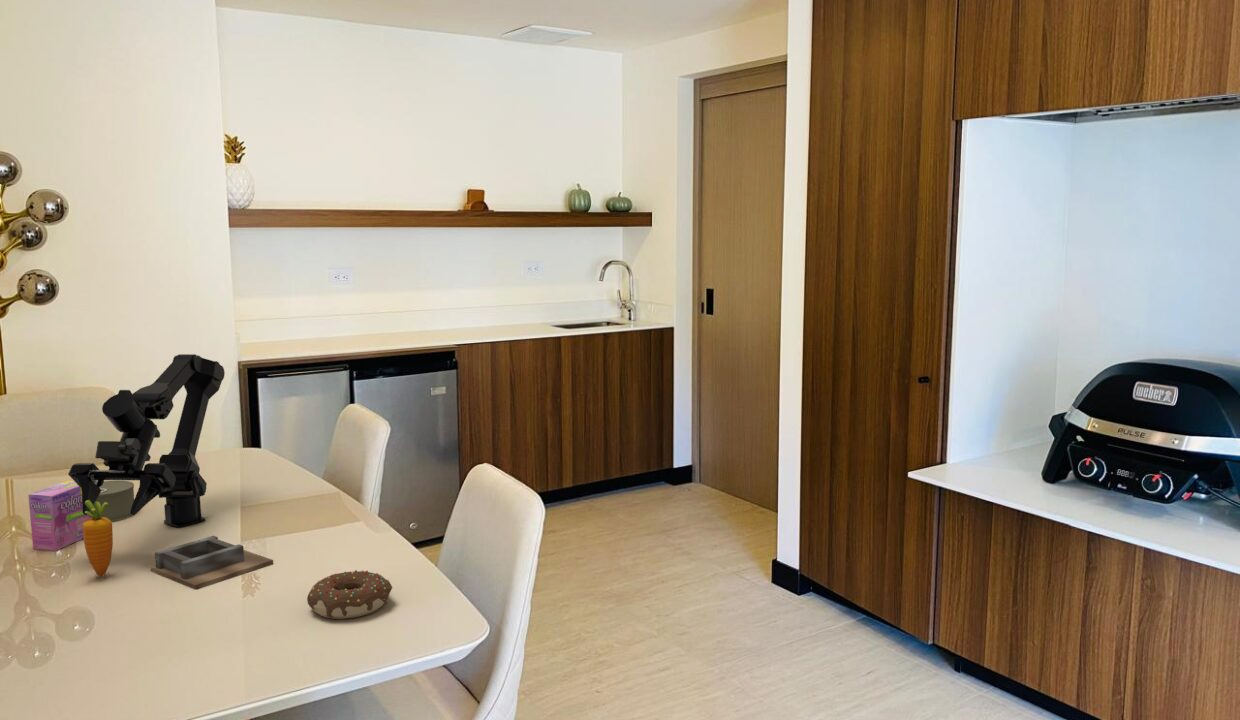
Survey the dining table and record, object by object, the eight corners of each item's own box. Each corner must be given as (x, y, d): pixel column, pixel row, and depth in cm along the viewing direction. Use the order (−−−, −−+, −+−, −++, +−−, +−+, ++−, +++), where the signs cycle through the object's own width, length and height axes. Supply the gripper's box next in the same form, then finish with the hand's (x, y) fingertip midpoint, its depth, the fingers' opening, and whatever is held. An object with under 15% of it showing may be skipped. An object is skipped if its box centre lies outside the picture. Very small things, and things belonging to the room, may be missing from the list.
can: (147, 509, 220) (145, 480, 219) (115, 525, 208) (112, 495, 207) (99, 508, 221) (96, 479, 220) (64, 524, 209) (61, 494, 208)
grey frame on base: (227, 547, 193) (226, 529, 192) (273, 563, 184) (272, 545, 183) (150, 570, 180) (148, 551, 180) (195, 589, 171) (194, 569, 170)
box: (56, 551, 191) (51, 495, 190) (32, 549, 192) (26, 493, 191) (94, 535, 201) (89, 481, 200) (71, 533, 202) (66, 480, 201)
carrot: (122, 574, 178) (116, 498, 176) (98, 583, 174) (91, 505, 172) (104, 570, 180) (98, 495, 178) (80, 579, 176) (73, 502, 174)
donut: (347, 630, 154) (346, 601, 153) (292, 612, 161) (290, 584, 160) (410, 601, 166) (409, 574, 165) (356, 585, 173) (354, 559, 172)
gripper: (69, 423, 183) (38, 493, 173) (164, 423, 182) (138, 493, 173) (96, 453, 192) (68, 521, 182) (186, 453, 191) (163, 522, 182)
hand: (108, 514), depth 179 cm, fingers open, 9 cm apart
